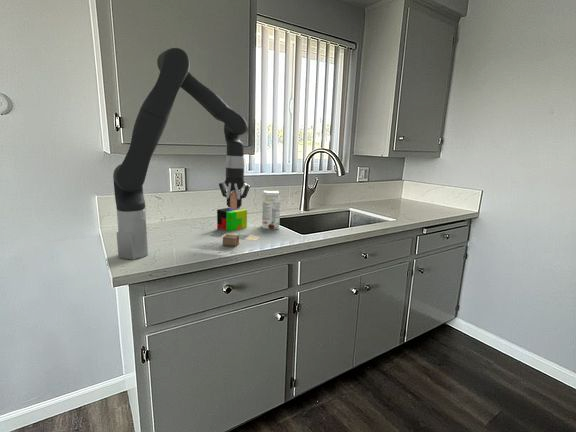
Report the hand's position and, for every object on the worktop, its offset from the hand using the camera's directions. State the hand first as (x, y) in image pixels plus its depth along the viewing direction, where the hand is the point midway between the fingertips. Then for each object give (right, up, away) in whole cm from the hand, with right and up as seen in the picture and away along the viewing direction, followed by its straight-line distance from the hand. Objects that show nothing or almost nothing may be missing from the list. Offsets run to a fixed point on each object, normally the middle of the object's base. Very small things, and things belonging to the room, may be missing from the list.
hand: (234, 207), depth 140 cm
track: (0, -14, +4) cm, 15 cm away
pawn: (0, -1, 0) cm, 1 cm away
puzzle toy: (-4, -11, +19) cm, 22 cm away
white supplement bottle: (+14, -11, +22) cm, 28 cm away
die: (0, -17, -8) cm, 19 cm away
